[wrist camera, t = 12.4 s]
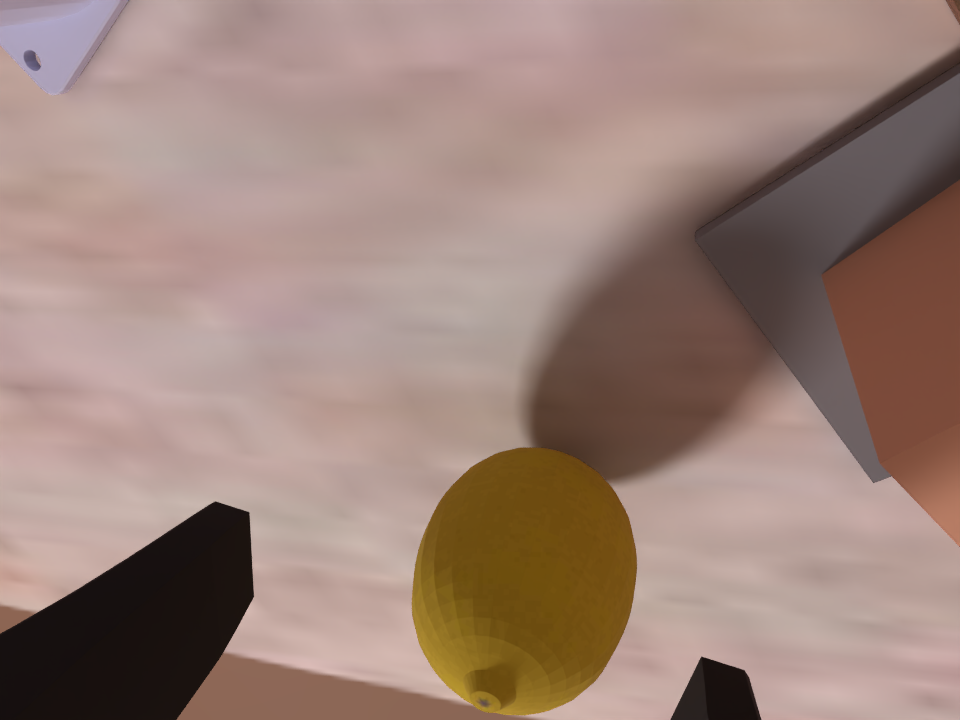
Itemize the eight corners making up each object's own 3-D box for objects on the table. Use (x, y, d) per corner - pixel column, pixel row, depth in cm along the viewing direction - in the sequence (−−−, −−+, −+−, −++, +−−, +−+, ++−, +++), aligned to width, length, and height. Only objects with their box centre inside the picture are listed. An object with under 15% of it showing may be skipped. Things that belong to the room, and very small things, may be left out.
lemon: (631, 386, 20) (588, 615, 13) (660, 540, 22) (636, 801, 15) (446, 401, 22) (327, 606, 15) (491, 541, 24) (406, 771, 17)
